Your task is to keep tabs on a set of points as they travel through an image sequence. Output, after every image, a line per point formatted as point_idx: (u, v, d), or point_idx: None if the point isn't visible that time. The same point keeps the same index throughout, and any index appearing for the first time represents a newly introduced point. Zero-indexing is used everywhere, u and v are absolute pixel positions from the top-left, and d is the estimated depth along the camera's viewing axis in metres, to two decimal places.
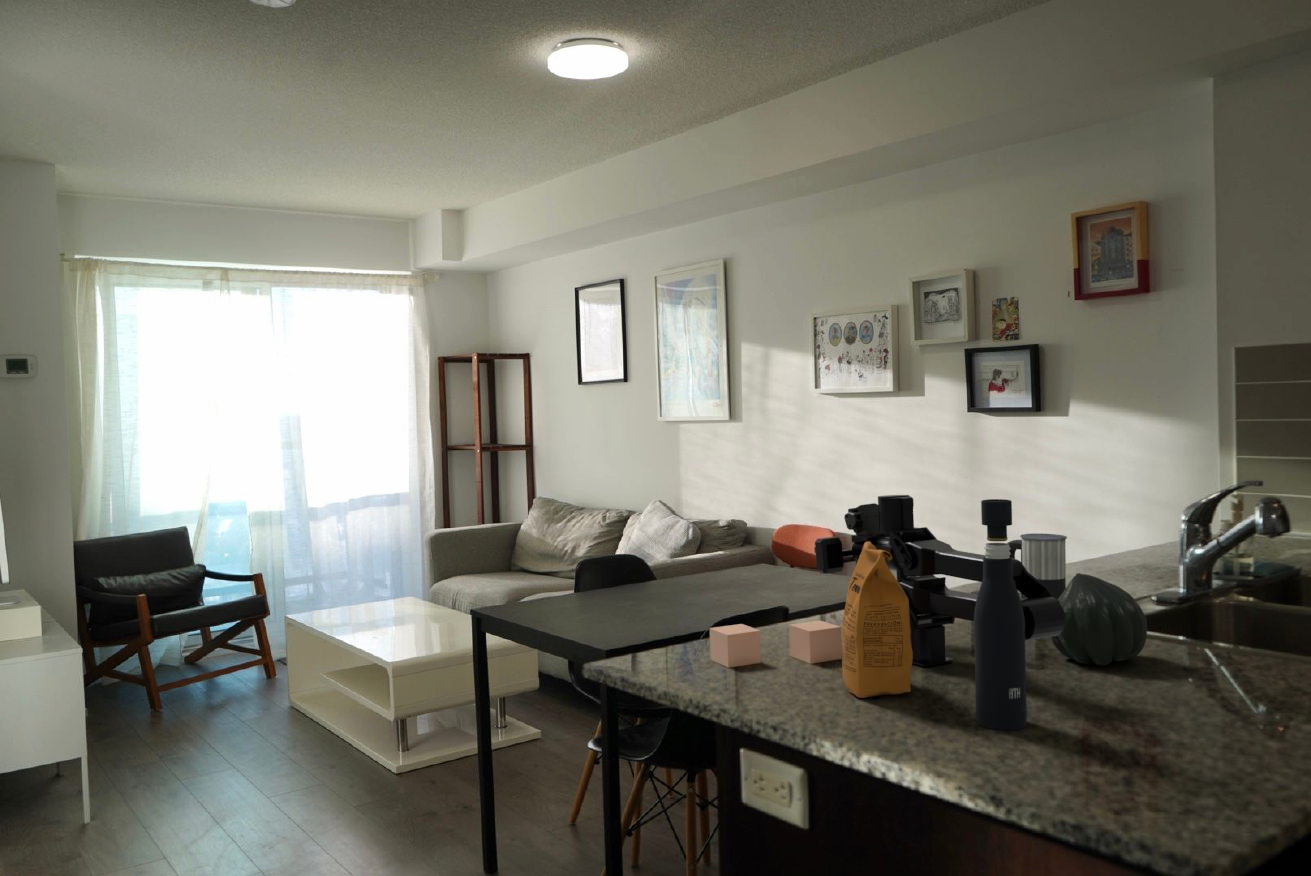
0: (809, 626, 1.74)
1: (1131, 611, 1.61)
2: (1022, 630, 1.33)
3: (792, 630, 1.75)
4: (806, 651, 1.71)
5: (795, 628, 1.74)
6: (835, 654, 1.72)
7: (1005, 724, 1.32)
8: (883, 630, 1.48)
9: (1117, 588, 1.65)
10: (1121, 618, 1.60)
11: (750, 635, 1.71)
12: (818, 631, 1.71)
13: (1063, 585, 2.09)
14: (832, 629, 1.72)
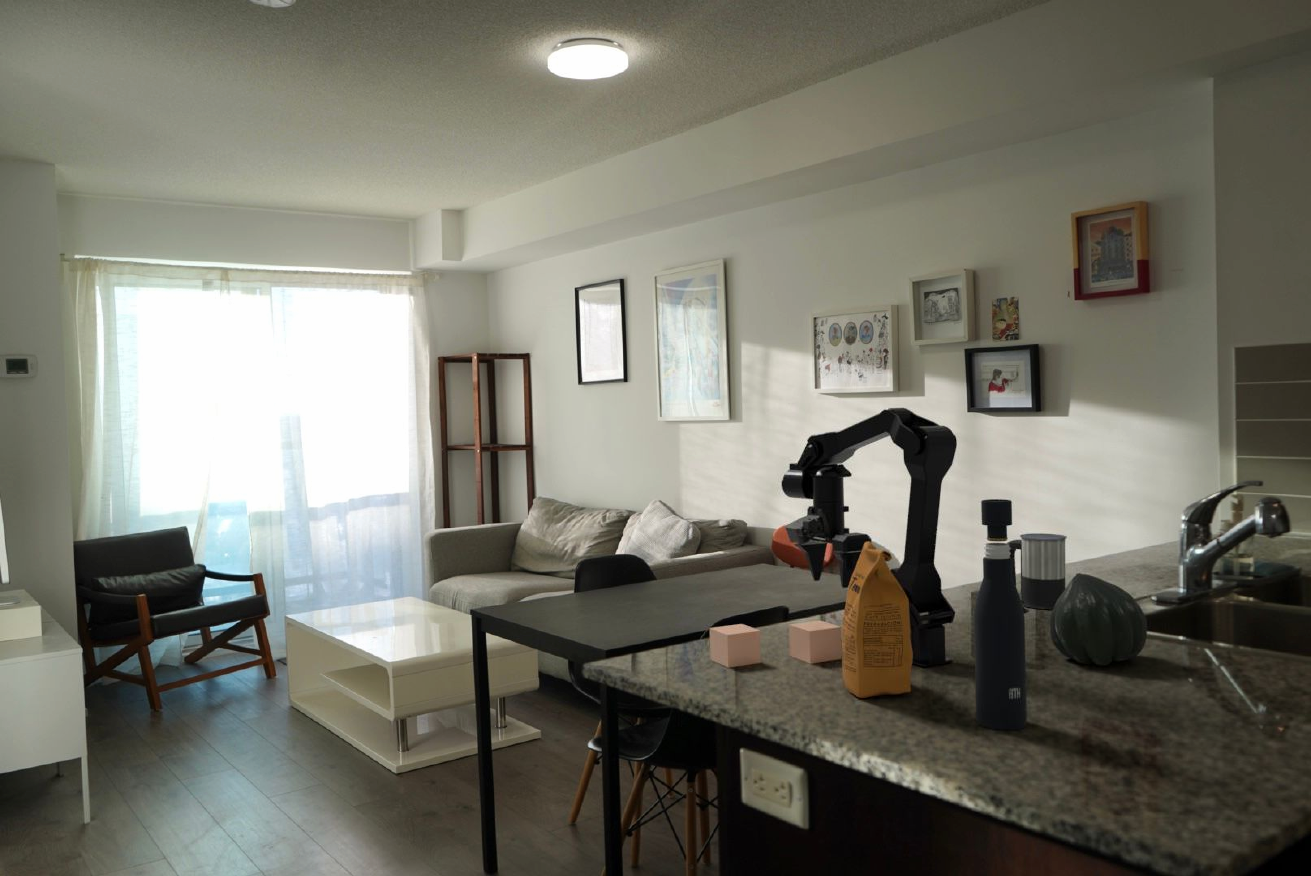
0: (809, 626, 1.74)
1: (1131, 611, 1.61)
2: (1022, 630, 1.33)
3: (792, 630, 1.75)
4: (806, 651, 1.71)
5: (795, 628, 1.74)
6: (835, 654, 1.72)
7: (1005, 724, 1.32)
8: (883, 630, 1.48)
9: (1117, 588, 1.65)
10: (1122, 618, 1.60)
11: (750, 635, 1.71)
12: (818, 631, 1.71)
13: (1063, 585, 2.09)
14: (832, 629, 1.72)
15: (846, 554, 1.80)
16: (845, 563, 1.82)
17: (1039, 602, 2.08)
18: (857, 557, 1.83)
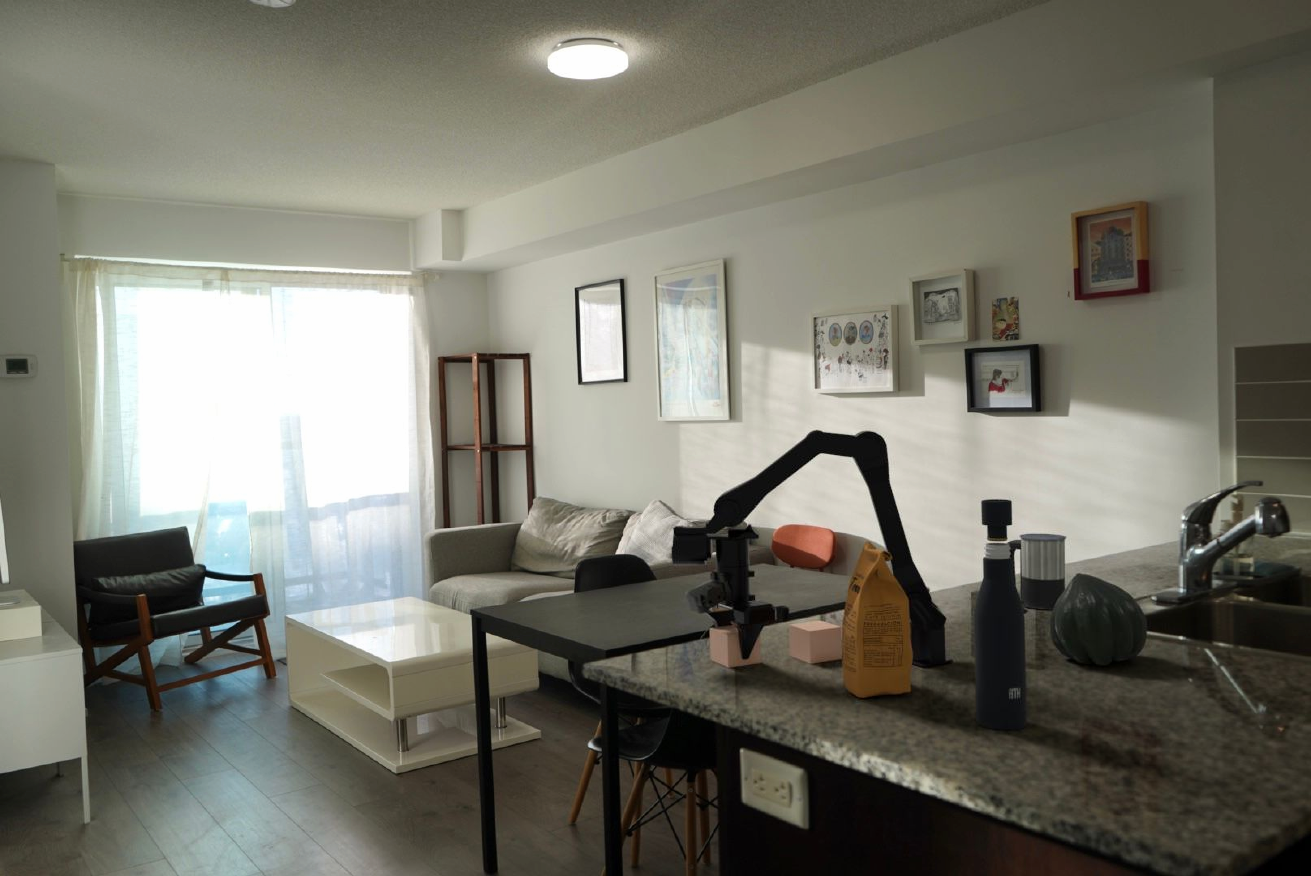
0: (809, 626, 1.74)
1: (1131, 611, 1.61)
2: (1022, 630, 1.33)
3: (792, 630, 1.75)
4: (806, 651, 1.71)
5: (795, 628, 1.74)
6: (835, 654, 1.72)
7: (1005, 724, 1.32)
8: (883, 630, 1.48)
9: (1117, 588, 1.65)
10: (1122, 618, 1.60)
11: None
12: (818, 631, 1.71)
13: (1062, 585, 2.08)
14: (832, 629, 1.72)
15: (744, 624, 1.66)
16: (744, 633, 1.68)
17: (1038, 603, 2.08)
18: (758, 626, 1.69)
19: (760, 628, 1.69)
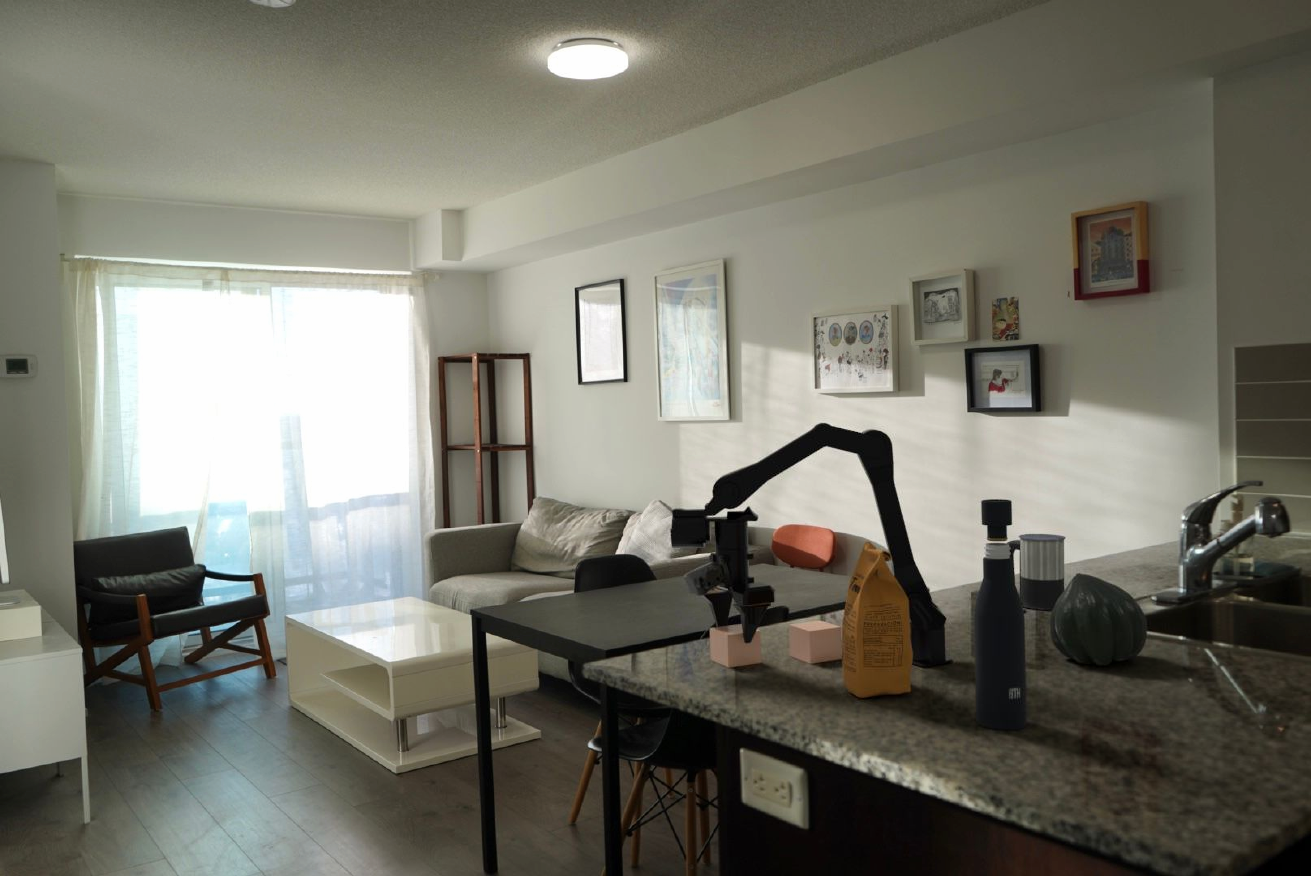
0: (809, 626, 1.74)
1: (1131, 611, 1.61)
2: (1022, 630, 1.33)
3: (792, 630, 1.75)
4: (806, 651, 1.71)
5: (795, 628, 1.74)
6: (835, 654, 1.72)
7: (1005, 724, 1.32)
8: (883, 630, 1.48)
9: (1117, 588, 1.65)
10: (1121, 618, 1.60)
11: None
12: (818, 631, 1.71)
13: (1062, 586, 2.08)
14: (832, 629, 1.72)
15: (747, 607, 1.65)
16: (747, 617, 1.67)
17: (1037, 603, 2.07)
18: (760, 610, 1.68)
19: (763, 611, 1.68)
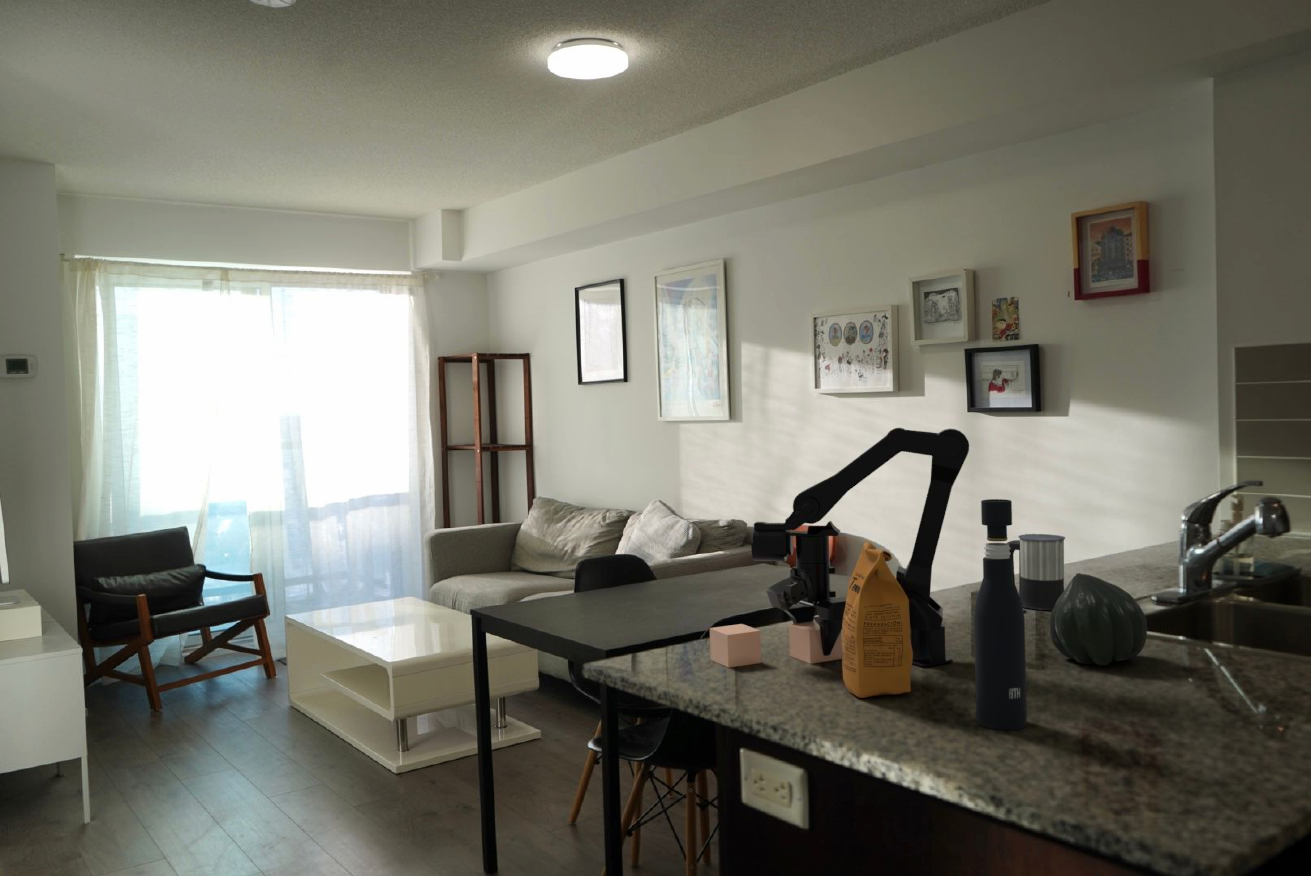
0: (809, 626, 1.74)
1: (1131, 611, 1.61)
2: (1022, 630, 1.33)
3: (792, 630, 1.75)
4: (806, 651, 1.71)
5: (795, 628, 1.74)
6: (835, 654, 1.72)
7: (1005, 724, 1.32)
8: (883, 630, 1.48)
9: (1117, 588, 1.65)
10: (1121, 618, 1.60)
11: (750, 635, 1.71)
12: (818, 631, 1.71)
13: (1061, 586, 2.08)
14: None
15: (827, 621, 1.67)
16: (826, 629, 1.69)
17: (1037, 603, 2.07)
18: (839, 623, 1.70)
19: None
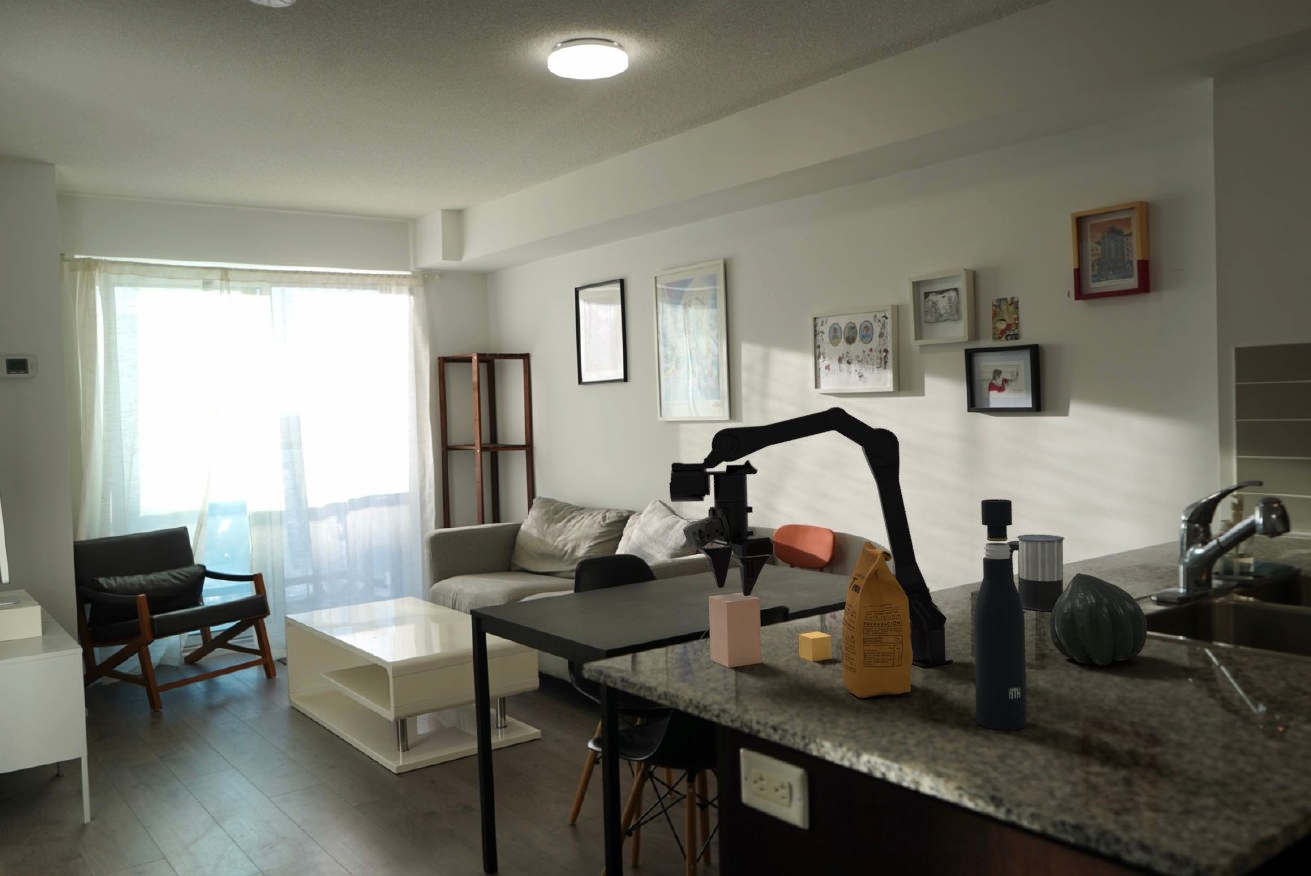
0: (728, 598, 1.72)
1: (1131, 611, 1.61)
2: (1022, 630, 1.33)
3: (711, 602, 1.74)
4: (724, 622, 1.70)
5: (714, 600, 1.73)
6: (753, 626, 1.71)
7: (1005, 724, 1.32)
8: (883, 630, 1.48)
9: (1117, 588, 1.65)
10: (1121, 618, 1.60)
11: (750, 635, 1.71)
12: (736, 602, 1.69)
13: (1060, 587, 2.07)
14: (750, 600, 1.71)
15: (746, 559, 1.65)
16: (746, 569, 1.67)
17: (1036, 604, 2.07)
18: (759, 562, 1.68)
19: (762, 564, 1.68)
